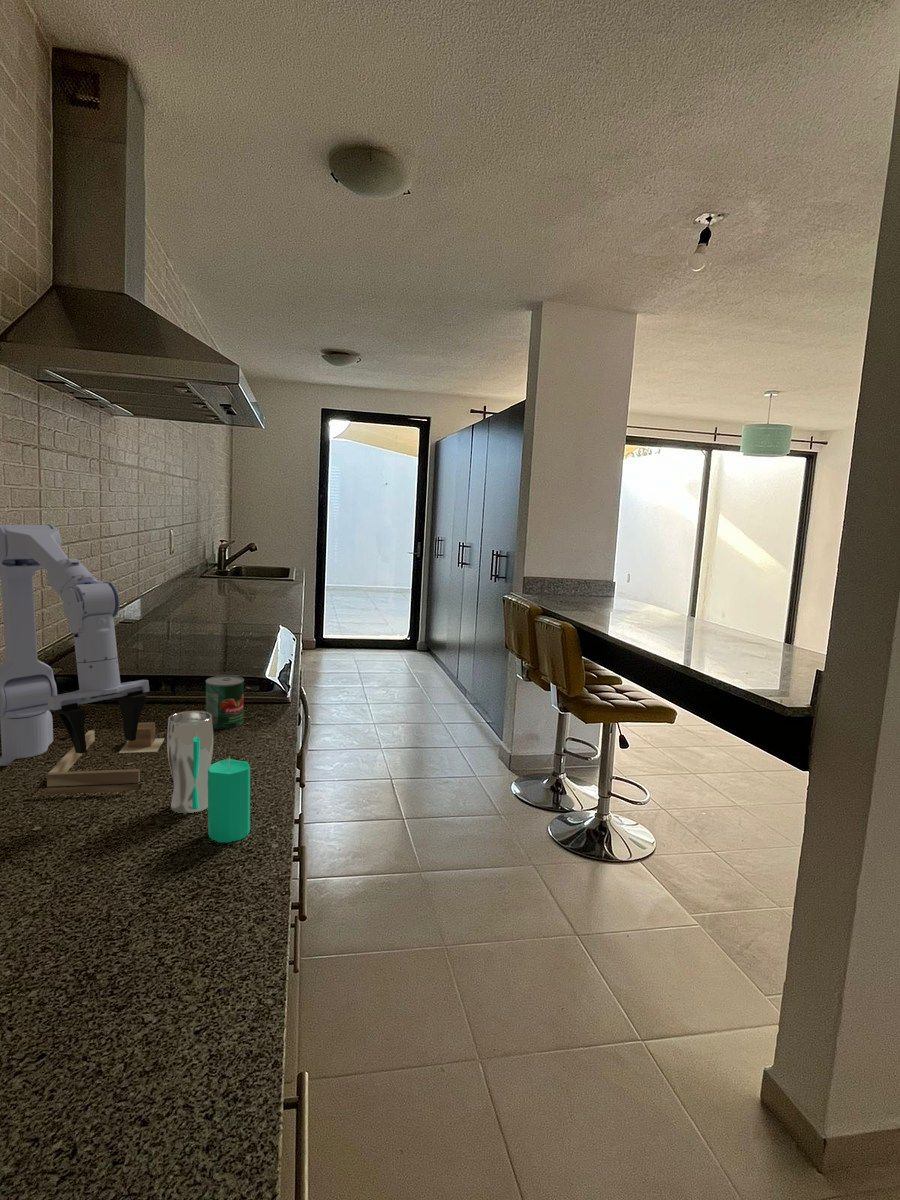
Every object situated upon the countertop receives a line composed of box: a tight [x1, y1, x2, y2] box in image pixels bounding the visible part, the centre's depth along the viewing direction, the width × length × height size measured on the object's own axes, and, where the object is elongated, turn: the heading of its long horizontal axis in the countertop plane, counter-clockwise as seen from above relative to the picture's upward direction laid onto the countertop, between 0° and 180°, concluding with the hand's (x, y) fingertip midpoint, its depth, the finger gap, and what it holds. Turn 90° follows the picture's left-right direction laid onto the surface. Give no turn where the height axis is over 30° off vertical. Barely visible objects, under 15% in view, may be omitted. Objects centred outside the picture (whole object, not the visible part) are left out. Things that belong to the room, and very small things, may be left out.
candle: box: [207, 756, 251, 843], centre depth 98 cm, size 6×6×12 cm
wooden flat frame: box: [46, 729, 166, 795], centre depth 121 cm, size 22×14×3 cm, turn 12°
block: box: [127, 722, 156, 747], centre depth 130 cm, size 4×4×4 cm
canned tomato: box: [205, 675, 245, 730], centre depth 144 cm, size 8×8×11 cm
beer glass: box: [166, 710, 214, 815], centre depth 106 cm, size 7×7×15 cm
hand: (106, 746), depth 103 cm, fingers open, 7 cm apart
